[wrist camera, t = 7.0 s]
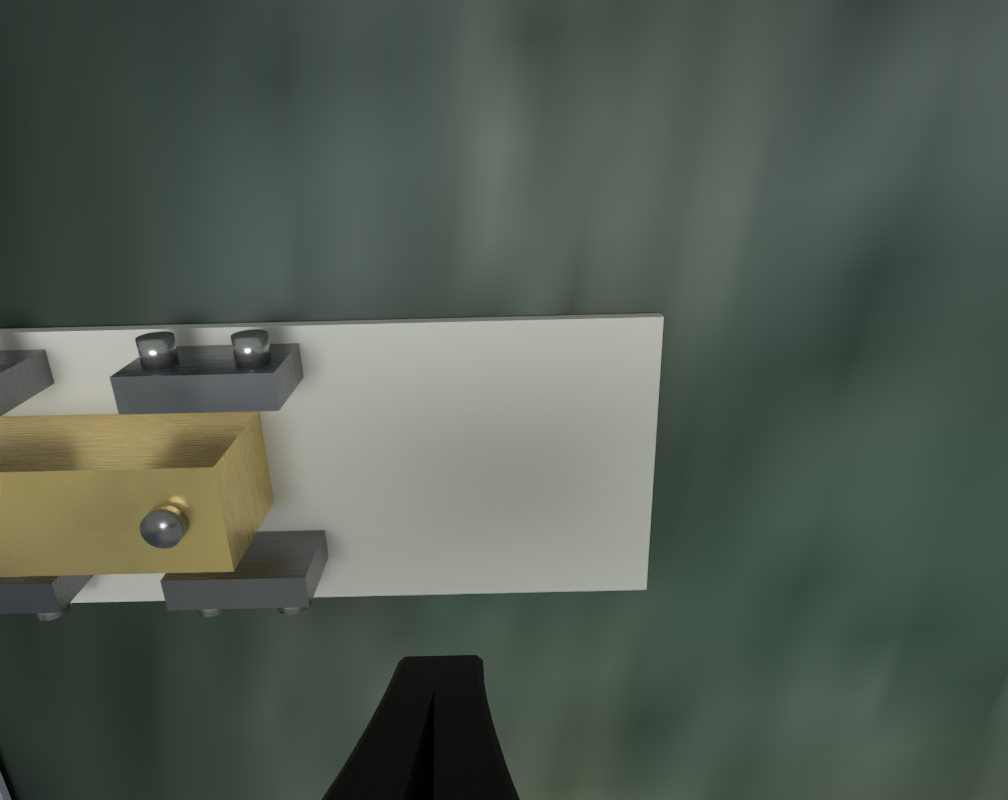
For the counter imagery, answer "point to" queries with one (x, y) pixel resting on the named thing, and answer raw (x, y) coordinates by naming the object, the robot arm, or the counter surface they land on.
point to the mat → (430, 446)
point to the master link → (130, 492)
